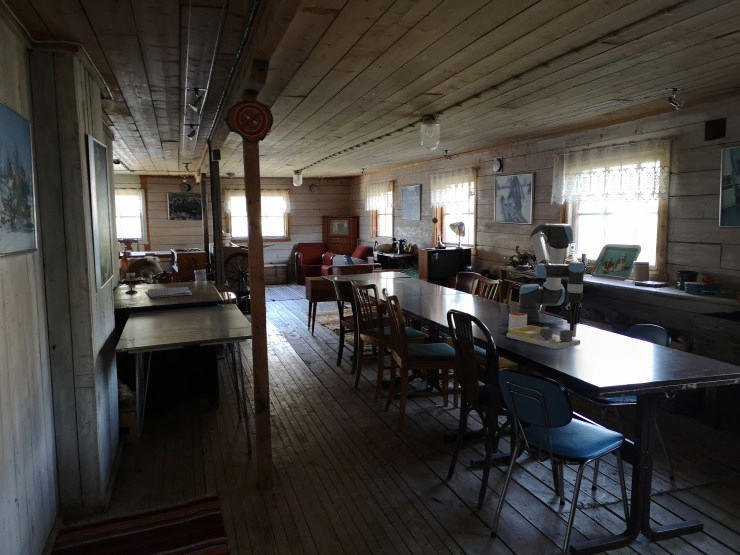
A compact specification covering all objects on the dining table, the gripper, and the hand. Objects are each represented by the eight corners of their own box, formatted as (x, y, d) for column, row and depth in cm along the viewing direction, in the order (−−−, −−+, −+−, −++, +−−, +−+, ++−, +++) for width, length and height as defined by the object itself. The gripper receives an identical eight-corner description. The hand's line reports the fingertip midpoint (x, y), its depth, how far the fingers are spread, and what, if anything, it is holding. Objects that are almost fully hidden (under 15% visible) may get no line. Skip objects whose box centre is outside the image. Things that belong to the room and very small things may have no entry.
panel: (530, 332, 302) (530, 324, 301) (580, 344, 275) (580, 335, 275) (506, 336, 291) (506, 328, 290) (555, 349, 264) (556, 340, 264)
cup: (524, 329, 310) (525, 312, 309) (527, 333, 300) (528, 316, 299) (507, 329, 311) (507, 312, 310) (510, 332, 301) (510, 315, 300)
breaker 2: (564, 339, 276) (565, 328, 276) (572, 340, 272) (572, 330, 272) (559, 340, 274) (560, 329, 273) (567, 341, 270) (567, 331, 270)
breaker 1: (544, 337, 280) (545, 326, 280) (552, 338, 277) (552, 327, 276) (540, 338, 278) (540, 326, 277) (547, 339, 274) (547, 328, 274)
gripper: (576, 290, 280) (573, 333, 283) (560, 291, 273) (558, 336, 275) (588, 291, 274) (586, 336, 277) (573, 293, 267) (571, 339, 269)
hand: (572, 336), depth 276 cm, fingers closed
